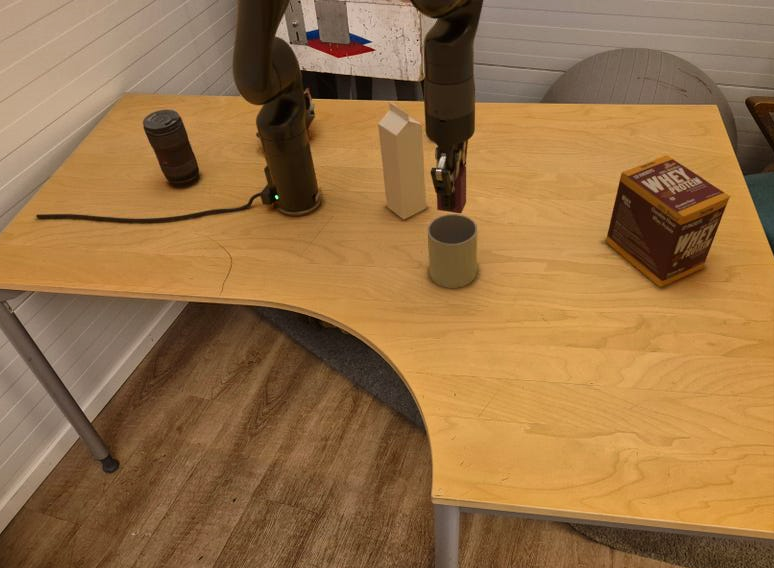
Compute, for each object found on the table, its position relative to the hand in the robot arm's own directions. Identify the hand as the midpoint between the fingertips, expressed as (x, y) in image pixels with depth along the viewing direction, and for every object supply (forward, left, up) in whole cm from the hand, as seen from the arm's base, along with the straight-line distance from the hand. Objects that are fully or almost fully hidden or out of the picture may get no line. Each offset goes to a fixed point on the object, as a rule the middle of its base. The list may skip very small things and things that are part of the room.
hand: (451, 201), depth 106 cm
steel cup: (0, 0, -16) cm, 16 cm away
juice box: (0, 0, -1) cm, 1 cm away
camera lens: (-68, +15, -16) cm, 71 cm away
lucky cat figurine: (-52, +37, -16) cm, 66 cm away
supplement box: (+35, +14, -16) cm, 41 cm away
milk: (-15, +17, -16) cm, 28 cm away
